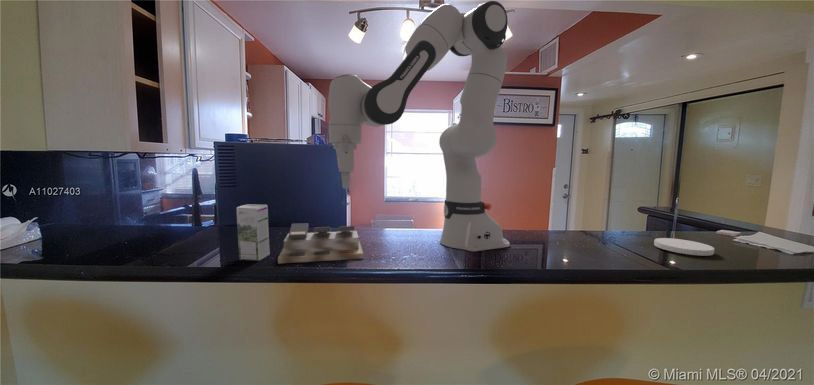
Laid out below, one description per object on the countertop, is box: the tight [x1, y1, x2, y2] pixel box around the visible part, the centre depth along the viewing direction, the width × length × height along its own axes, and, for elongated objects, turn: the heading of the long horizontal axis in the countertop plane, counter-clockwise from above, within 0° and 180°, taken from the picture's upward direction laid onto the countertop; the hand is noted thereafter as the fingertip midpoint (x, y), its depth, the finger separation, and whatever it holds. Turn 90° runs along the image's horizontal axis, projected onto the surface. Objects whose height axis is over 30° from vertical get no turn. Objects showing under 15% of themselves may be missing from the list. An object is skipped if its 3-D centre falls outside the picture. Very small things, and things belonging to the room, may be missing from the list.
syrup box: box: [236, 203, 271, 262], centre depth 83 cm, size 6×6×14 cm
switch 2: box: [337, 225, 355, 232], centre depth 90 cm, size 5×7×1 cm, turn 13°
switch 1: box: [288, 222, 309, 239], centre depth 87 cm, size 5×7×1 cm, turn 13°
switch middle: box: [312, 226, 332, 233], centre depth 88 cm, size 5×7×1 cm, turn 13°
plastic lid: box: [653, 237, 715, 257], centre depth 96 cm, size 14×14×2 cm
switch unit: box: [277, 230, 364, 264], centre depth 87 cm, size 22×12×6 cm, turn 103°
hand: (345, 187), depth 85 cm, fingers open, 7 cm apart
